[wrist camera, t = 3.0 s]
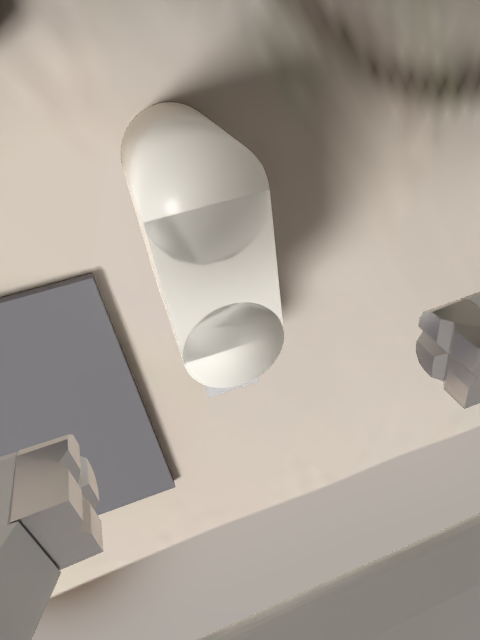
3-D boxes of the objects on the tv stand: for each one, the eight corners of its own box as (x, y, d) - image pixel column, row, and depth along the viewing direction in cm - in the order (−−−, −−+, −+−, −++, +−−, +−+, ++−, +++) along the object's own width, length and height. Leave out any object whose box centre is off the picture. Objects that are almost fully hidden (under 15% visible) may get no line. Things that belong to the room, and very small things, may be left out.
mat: (92, 273, 17) (92, 277, 17) (173, 481, 25) (175, 487, 25) (-263, 369, 15) (-270, 377, 15) (-47, 561, 23) (-48, 568, 23)
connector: (210, 92, 15) (263, 121, 11) (249, 334, 21) (291, 407, 17) (107, 114, 14) (123, 153, 10) (178, 356, 21) (205, 437, 17)
